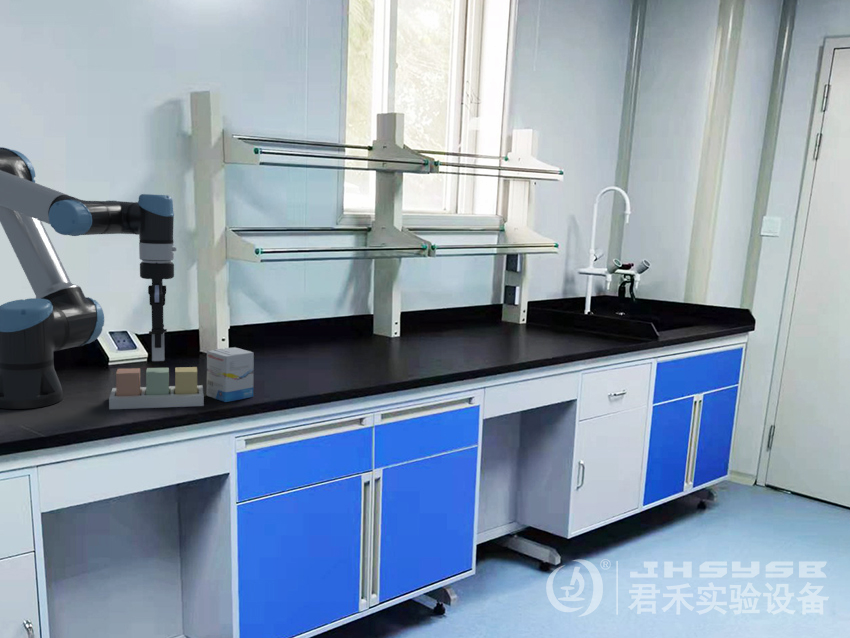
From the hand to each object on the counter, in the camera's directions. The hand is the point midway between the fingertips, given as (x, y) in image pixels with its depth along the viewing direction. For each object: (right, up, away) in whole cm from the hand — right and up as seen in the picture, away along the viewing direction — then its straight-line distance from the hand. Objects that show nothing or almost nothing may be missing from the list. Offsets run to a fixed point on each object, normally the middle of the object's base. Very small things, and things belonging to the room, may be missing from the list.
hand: (158, 360), depth 178 cm
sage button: (-1, -8, +1) cm, 9 cm away
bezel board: (-1, -10, +2) cm, 10 cm away
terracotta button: (-7, -8, -1) cm, 11 cm away
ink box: (+15, -10, +10) cm, 20 cm away
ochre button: (+6, -8, +3) cm, 11 cm away
